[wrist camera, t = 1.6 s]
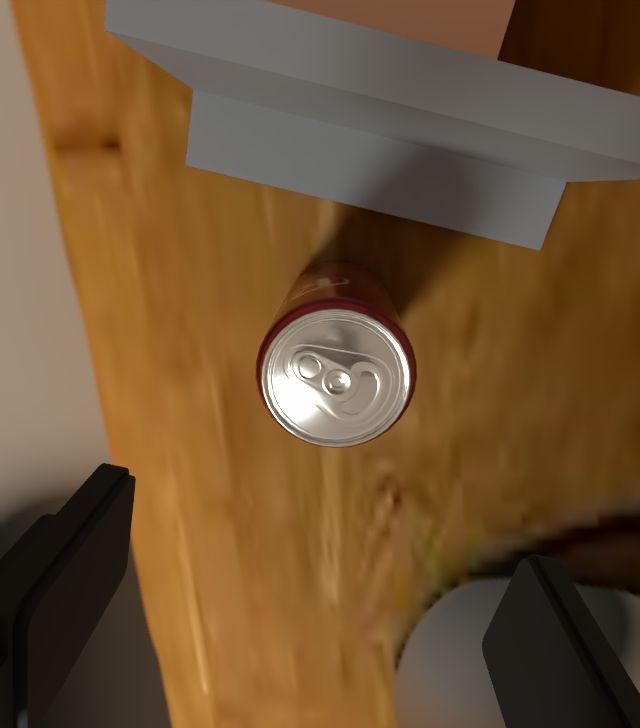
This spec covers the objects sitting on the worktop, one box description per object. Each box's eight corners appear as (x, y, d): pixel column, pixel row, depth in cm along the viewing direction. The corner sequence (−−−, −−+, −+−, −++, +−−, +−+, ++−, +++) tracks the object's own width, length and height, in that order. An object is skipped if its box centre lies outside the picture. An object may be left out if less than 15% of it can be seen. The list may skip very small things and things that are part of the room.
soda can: (413, 298, 31) (454, 361, 19) (352, 381, 33) (356, 480, 22) (322, 237, 30) (309, 266, 18) (265, 327, 32) (223, 402, 21)
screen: (204, 54, 26) (107, -40, 15) (571, 146, 27) (722, 117, 16) (191, 166, 28) (98, 151, 18) (532, 248, 29) (643, 282, 18)
